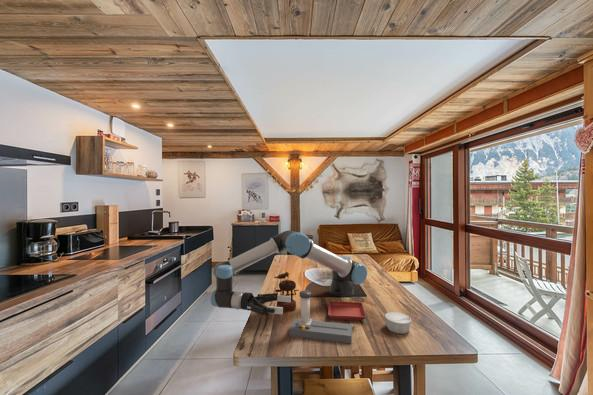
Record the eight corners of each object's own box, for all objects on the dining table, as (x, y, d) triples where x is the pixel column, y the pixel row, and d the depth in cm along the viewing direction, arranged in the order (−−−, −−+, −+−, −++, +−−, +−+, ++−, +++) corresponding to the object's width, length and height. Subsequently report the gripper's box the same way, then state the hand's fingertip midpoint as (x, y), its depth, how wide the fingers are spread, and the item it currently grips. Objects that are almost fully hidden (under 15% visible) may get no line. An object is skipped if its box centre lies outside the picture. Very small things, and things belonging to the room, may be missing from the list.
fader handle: (298, 326, 111) (298, 294, 111) (301, 320, 117) (301, 289, 117) (309, 327, 110) (309, 295, 110) (312, 321, 115) (312, 290, 116)
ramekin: (409, 337, 108) (409, 325, 108) (382, 331, 114) (382, 319, 114) (413, 326, 118) (412, 315, 118) (387, 321, 123) (387, 310, 124)
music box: (279, 314, 130) (277, 274, 132) (271, 308, 140) (269, 271, 142) (305, 309, 137) (303, 271, 139) (295, 303, 147) (294, 268, 149)
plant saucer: (328, 321, 124) (328, 314, 124) (328, 306, 142) (328, 300, 142) (366, 323, 121) (366, 316, 121) (362, 308, 139) (362, 302, 139)
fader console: (289, 336, 109) (289, 325, 110) (295, 325, 119) (294, 315, 119) (351, 343, 104) (351, 332, 104) (351, 331, 113) (351, 321, 113)
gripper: (253, 299, 132) (293, 302, 127) (230, 320, 108) (278, 326, 103) (253, 284, 132) (293, 287, 127) (230, 302, 108) (278, 307, 103)
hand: (286, 304), depth 115 cm, fingers open, 13 cm apart
